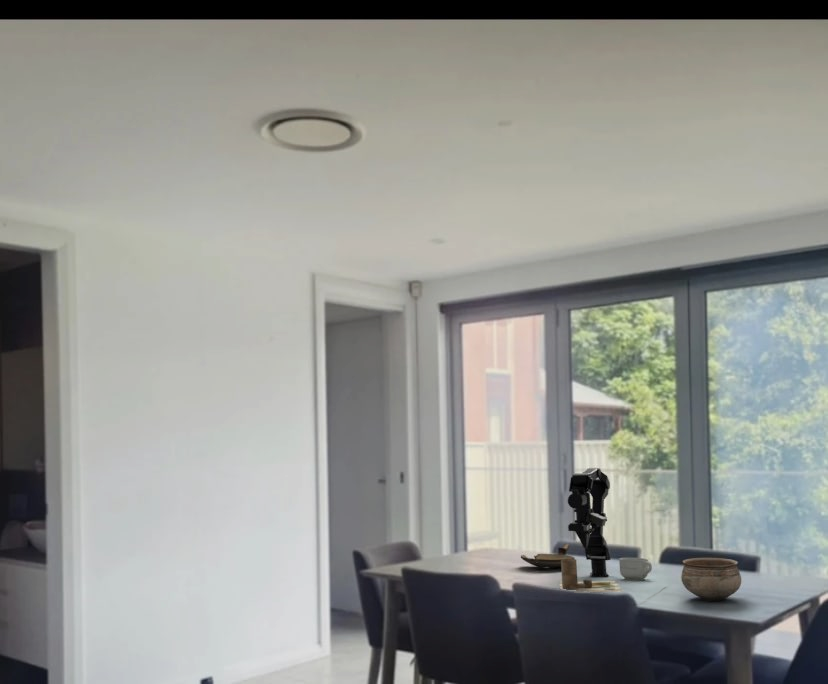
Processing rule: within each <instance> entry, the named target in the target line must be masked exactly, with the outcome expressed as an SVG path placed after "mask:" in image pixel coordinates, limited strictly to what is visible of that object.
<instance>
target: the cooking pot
mask: <svg viewBox="0 0 828 684" xmlns="http://www.w3.org/2000/svg"><path fill="white" fill-rule="evenodd" d="M682 563H683V564H684V565H683V567H682V570H681V574H680V575H681V577H680V579H681V582H682V585H683V586H684V588H685V589H686V590H687V591H688V592H689V593H692V594H693V595H695V596H697V597H698V598H699V599H701V600H703V601H706V602H720V601H721V602H722V601H724V600H726V599H727V598H728V597H730V596H732V595H734V594H735V593H736V592H737V591H738V590H739V589H740V587H741V585H742V575H741V573H740V570H739V568H738V566H737V564H738V563H739V562H738V561H737V560H734V559H728V558H721V557H719V558H718V557H695V558H694V557H693V558H687V559H683V560H682Z"/></svg>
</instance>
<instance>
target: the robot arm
mask: <svg viewBox="0 0 828 684" xmlns="http://www.w3.org/2000/svg"><path fill="white" fill-rule="evenodd" d="M610 488H611V483H610V479H609V477H608V475H607V474H605V473H604V472H603V471H601V468H599V467H589V468H587V469H586V470H584V471H583V472H581V473H579V472H576V473H572V476H570V482H569V487H568V492H569V493H571V494H569V496H568V498H567V504H568V505H569V507H570V508H571V509H573V513H575V520H574V521H573V522H571V523H569V524H568V525H567V531H568V532H575V533H576V536H577V537H578V540H579V542H580V544H581V546H582V547H583V548H584V552H585V553H584V554H585V558H586V560H590V563H591V572H590V576H591V577H609V574H608V572H607V562H606V561H610V560H611V552H610V549H609V546H608V544H607V540H606V539H605V536H604V535H603V534H604V527H605V526H606V522H607V521H608V517H607V515H606V512H605V511H604V509H605V508H604V507H605V505H604V504H605V499H606V498H607V496H608V495H609V490H610ZM591 498H592V499H591ZM591 500H592V504H591ZM591 506H592V507H591Z"/></svg>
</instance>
